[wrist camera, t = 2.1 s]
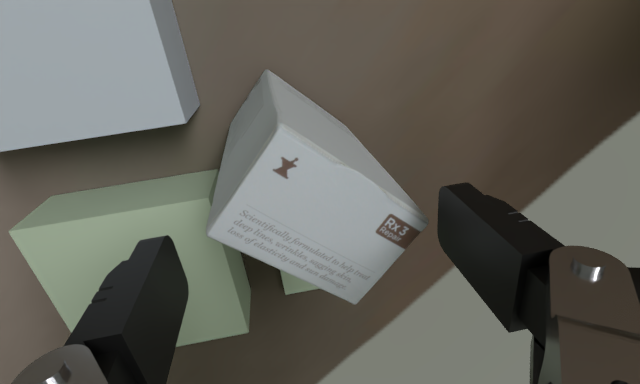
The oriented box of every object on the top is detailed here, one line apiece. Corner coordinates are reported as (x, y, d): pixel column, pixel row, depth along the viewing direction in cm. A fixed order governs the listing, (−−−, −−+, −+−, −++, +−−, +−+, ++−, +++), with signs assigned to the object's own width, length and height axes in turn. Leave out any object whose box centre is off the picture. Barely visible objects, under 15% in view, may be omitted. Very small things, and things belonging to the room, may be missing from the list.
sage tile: (343, 222, 25) (345, 226, 24) (349, 277, 27) (350, 282, 27) (273, 234, 25) (273, 239, 24) (285, 289, 27) (285, 294, 26)
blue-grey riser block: (138, -120, 16) (100, -161, 12) (200, 105, 20) (185, 123, 17) (-102, -95, 15) (-216, -130, 11) (17, 132, 19) (-38, 157, 16)
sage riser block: (217, 168, 22) (208, 197, 18) (251, 290, 26) (248, 332, 23) (51, 195, 21) (8, 231, 18) (114, 316, 26) (90, 363, 22)
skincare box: (227, 127, 21) (186, 243, 10) (268, 62, 20) (271, 115, 9) (311, 179, 23) (350, 318, 12) (352, 123, 22) (437, 224, 11)
